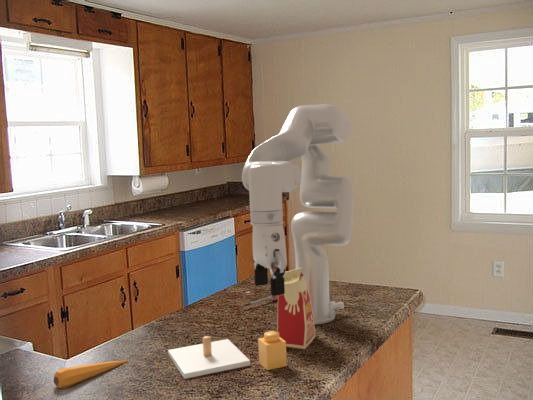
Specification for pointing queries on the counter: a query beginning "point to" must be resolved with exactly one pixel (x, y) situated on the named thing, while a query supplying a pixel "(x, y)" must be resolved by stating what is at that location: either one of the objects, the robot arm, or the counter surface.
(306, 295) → the milk carton
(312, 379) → the counter surface
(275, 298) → the screwdriver
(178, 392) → the counter surface
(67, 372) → the carrot
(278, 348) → the gold domed block
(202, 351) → the white plate
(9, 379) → the counter surface
